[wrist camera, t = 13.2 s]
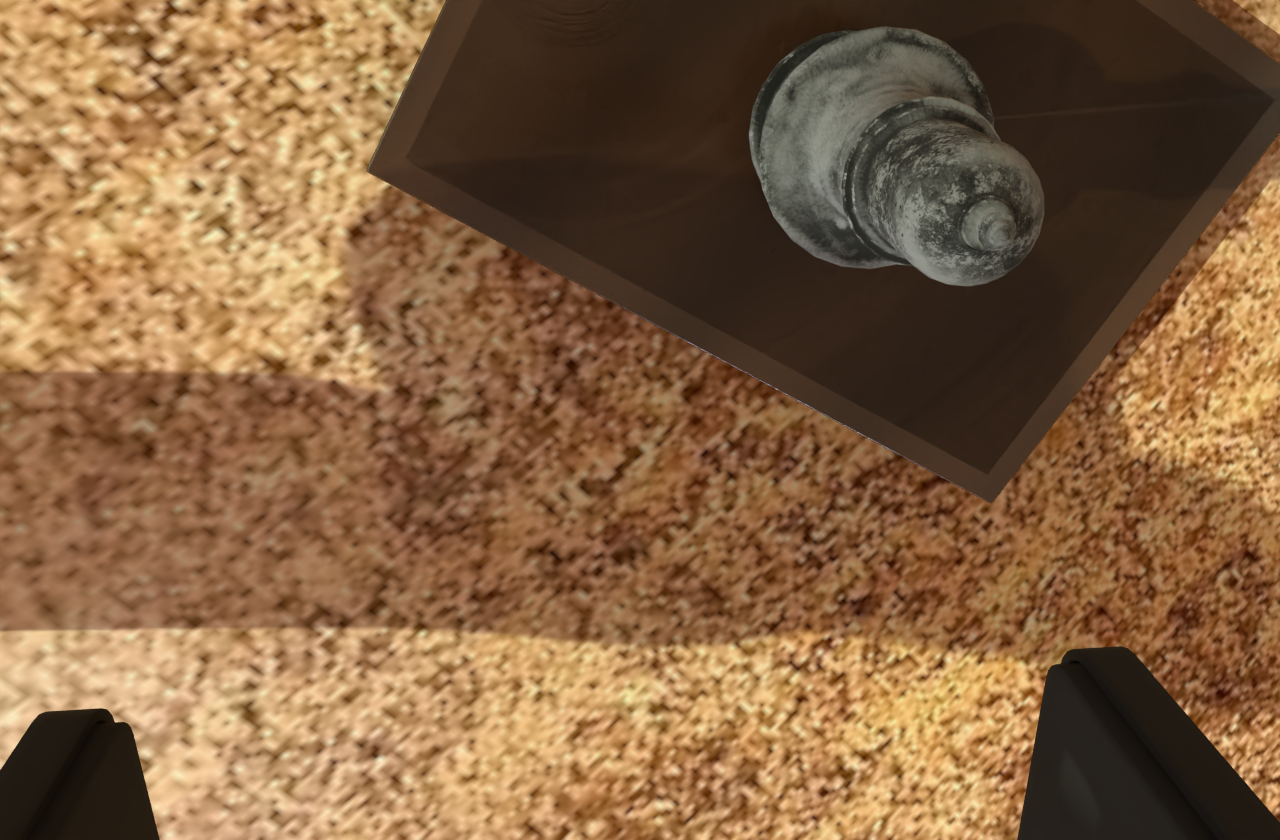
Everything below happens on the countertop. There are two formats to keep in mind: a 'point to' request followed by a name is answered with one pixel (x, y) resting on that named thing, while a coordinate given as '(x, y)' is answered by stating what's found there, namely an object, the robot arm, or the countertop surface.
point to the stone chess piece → (892, 158)
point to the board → (784, 271)
